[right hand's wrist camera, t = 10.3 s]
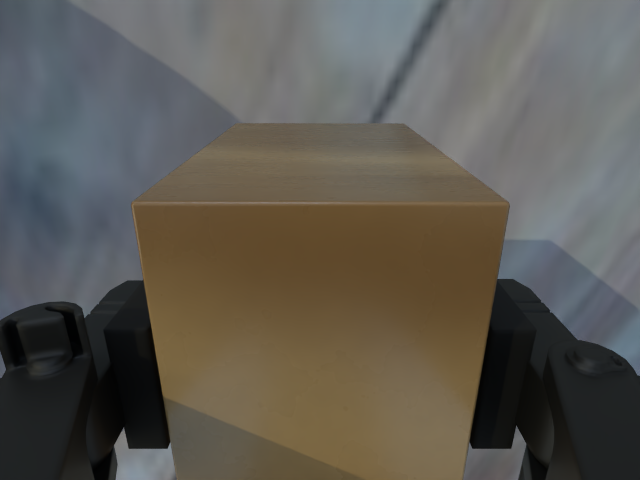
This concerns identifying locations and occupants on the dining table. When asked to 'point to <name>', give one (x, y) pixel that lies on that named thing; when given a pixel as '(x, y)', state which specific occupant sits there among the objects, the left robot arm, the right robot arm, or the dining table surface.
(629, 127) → the dining table surface
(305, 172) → the bar
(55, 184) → the dining table surface
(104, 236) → the dining table surface
